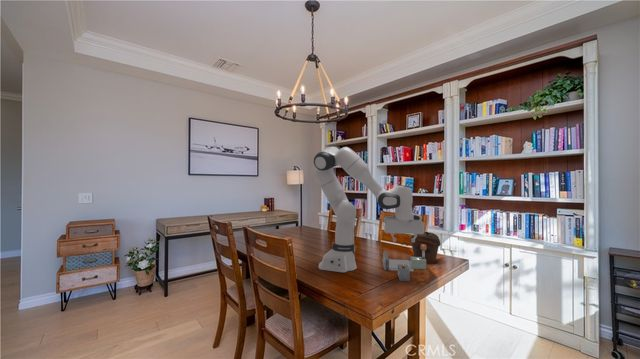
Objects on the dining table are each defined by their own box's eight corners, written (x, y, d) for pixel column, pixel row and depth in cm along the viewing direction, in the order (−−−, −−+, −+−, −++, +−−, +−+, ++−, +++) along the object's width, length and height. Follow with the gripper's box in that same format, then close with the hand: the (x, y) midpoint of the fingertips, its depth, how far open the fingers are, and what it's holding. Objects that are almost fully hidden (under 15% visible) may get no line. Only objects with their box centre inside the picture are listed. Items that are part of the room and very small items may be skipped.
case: (432, 255, 183) (432, 229, 182) (446, 265, 163) (445, 235, 162) (406, 255, 183) (406, 229, 183) (416, 265, 163) (416, 236, 163)
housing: (399, 280, 139) (399, 266, 138) (397, 275, 146) (397, 261, 146) (409, 281, 138) (409, 266, 138) (407, 275, 146) (407, 262, 146)
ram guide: (411, 268, 157) (411, 259, 157) (410, 265, 163) (410, 256, 163) (426, 269, 156) (426, 260, 155) (424, 265, 161) (424, 257, 161)
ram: (413, 262, 158) (413, 244, 158) (412, 260, 161) (412, 243, 161) (426, 262, 157) (427, 245, 157) (425, 261, 160) (425, 244, 160)
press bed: (384, 269, 154) (384, 259, 154) (382, 261, 170) (382, 251, 170) (413, 271, 152) (413, 260, 152) (408, 262, 168) (408, 253, 168)
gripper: (384, 216, 140) (384, 242, 140) (425, 217, 137) (425, 244, 137) (383, 214, 147) (383, 239, 147) (422, 215, 143) (422, 241, 143)
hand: (403, 241), depth 142 cm, fingers open, 8 cm apart
